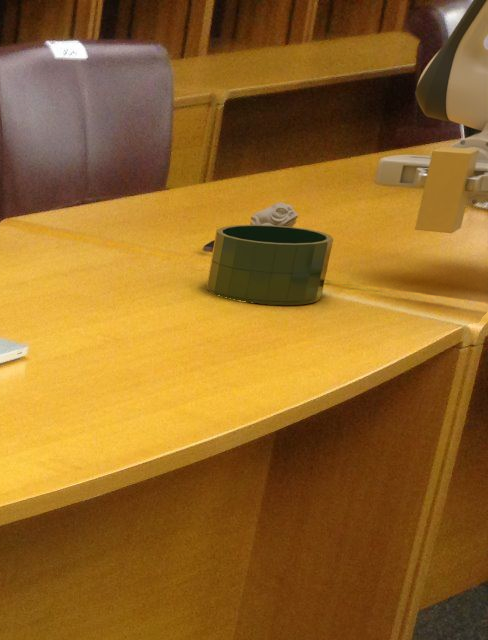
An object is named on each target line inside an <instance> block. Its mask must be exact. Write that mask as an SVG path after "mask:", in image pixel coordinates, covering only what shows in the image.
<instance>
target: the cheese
mask: <svg viewBox="0 0 488 640" xmlns="http://www.w3.org/2000/svg"><path fill="white" fill-rule="evenodd" d="M478 154H479V149H466V148H452V147H449V146H440V147H438V148H436V149H433V150H432V152H431V155H430V156H431V160H430V165H429V169H428V173H427V178H426V182H425V187H424V190H423V191H422V195H421V201H420V205H419V209H418V213H417V218H416V223H415V226H414V230H415V231H424V232H433V233H443V234H454V233H455V232H457V231H458V230H460V229H461V228H462V224H463V220H464V216H465V212H466V208H467V205H466V204H467V200H468V195H469V191H465V187H466V185H467V179H468V177H469V176H473V175H474V170H475V166H476V162H477V158H478Z"/></svg>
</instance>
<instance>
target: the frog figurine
mask: <svg viewBox="0 0 488 640" xmlns="http://www.w3.org/2000/svg"><path fill="white" fill-rule="evenodd" d="M298 218H299V214H298V213H297V212H296V210H294V207H293V206H292V205H291V204H287V203H284V202H276V203H274V204H272V205H271V206H268V207H266V208H264V209H262V210H259V211H256V212H255V213H253V214H252V215H251V216H250V219H251V221H250V222H249V225H276V226H288V227H294V225H296V223H297V220H298Z"/></svg>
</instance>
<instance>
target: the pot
mask: <svg viewBox="0 0 488 640" xmlns="http://www.w3.org/2000/svg"><path fill="white" fill-rule="evenodd" d="M214 240H215V242H214V247H213V252H211V260H210V265H209V270H208V275H207V276H208V277H207V281H206V290H207V289H208V290H209V291H210V292H209V291H208V290H207V291H208V292H209V293H211V292H212V293H211V294H213V293H214V294H213V295H215V294H217V295H220V296H223V297H227V298H231V299H235V300H241V301H246V302H253V303H259V304H258V305H263V304H267V305H266V306H301V305H307V304H308V305H309V304H313V303H316V302H318V301H319V300H321V296H323V290H324V285H325V281H326V276H327V272H328V267H329V261H330V256H331V252H332V247H333V243H334V237H333V236H332V235H330V234H328V233H326V232H323V231H318V230H315V229H310V228H302V227H296V226H293V227H288V226H276V225H250V224H238V225H237V224H235V225H227V226H222V227H220V228H217V229H216V230H215V237H214ZM217 295H216V296H217ZM220 296H219V297H220ZM223 297H222V298H223Z"/></svg>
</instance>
